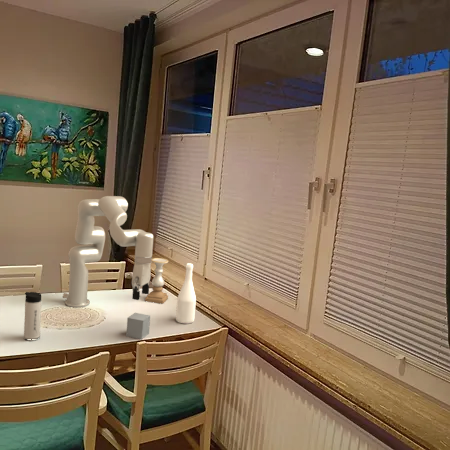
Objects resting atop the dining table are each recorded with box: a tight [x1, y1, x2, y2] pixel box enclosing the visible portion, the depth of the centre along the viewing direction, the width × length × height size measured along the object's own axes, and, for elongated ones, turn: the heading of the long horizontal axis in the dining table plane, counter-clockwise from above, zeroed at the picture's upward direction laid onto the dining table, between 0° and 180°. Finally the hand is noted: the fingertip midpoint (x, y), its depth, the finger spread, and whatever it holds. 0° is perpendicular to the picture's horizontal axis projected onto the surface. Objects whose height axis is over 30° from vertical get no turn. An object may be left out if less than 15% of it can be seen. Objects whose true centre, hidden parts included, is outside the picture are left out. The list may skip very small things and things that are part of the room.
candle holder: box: [144, 257, 169, 305], centre depth 251 cm, size 11×11×24 cm
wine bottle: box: [175, 262, 197, 325], centre depth 221 cm, size 10×10×30 cm
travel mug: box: [23, 291, 42, 340], centre depth 184 cm, size 6×7×20 cm
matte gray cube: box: [125, 312, 151, 340], centre depth 199 cm, size 8×8×9 cm
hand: (140, 296), depth 197 cm, fingers open, 9 cm apart
